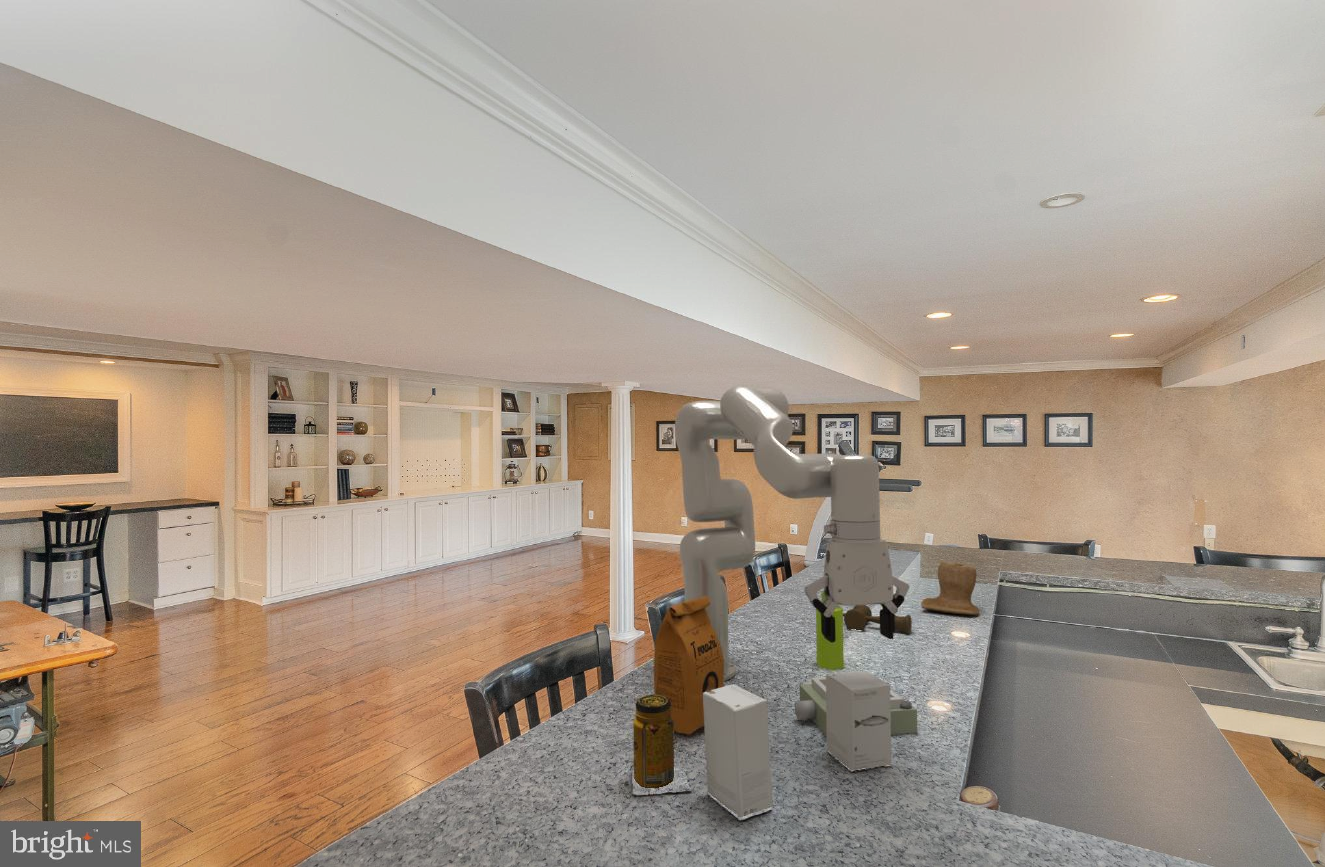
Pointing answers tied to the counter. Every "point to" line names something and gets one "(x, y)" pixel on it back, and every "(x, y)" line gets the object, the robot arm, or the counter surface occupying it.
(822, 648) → the soap dispenser
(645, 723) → the condiment
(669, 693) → the coffee package
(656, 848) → the counter surface
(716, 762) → the skincare box
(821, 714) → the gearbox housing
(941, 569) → the brown boot
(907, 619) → the kendama
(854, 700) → the supplement box
